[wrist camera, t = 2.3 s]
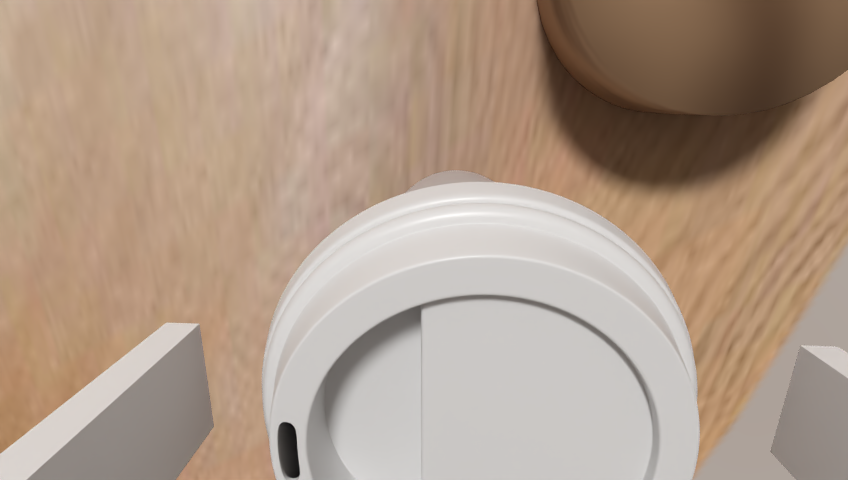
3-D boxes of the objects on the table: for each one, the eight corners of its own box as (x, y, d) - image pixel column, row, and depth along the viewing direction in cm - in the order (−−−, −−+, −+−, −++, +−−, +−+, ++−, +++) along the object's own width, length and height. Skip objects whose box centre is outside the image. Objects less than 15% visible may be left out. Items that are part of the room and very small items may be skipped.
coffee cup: (401, 104, 21) (317, 105, 7) (586, 183, 22) (867, 335, 8) (333, 282, 24) (171, 554, 9) (501, 347, 25) (589, 692, 10)
